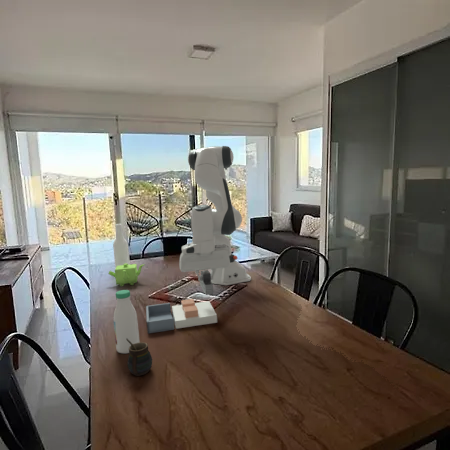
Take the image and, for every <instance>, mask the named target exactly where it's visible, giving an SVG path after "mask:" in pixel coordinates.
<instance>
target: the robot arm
mask: <svg viewBox="0 0 450 450" xmlns="http://www.w3.org/2000/svg"><path fill="white" fill-rule="evenodd" d="M187 156H188V157H187V161H188V165H189V168H190V169H191V170H193V171H194V181H195V183H196V184H197V186H199V187H200V188H201V189H203V190H205V197H206V199H207V200H208V201H209V202H211V203H212V204H213V205H214V207H215V208H212V206H210V205H208V204H199V205H196V206H194V207H192V210H191V218H190V230H191V231H192V241H191V242H189V243H186V244H185V245H182V246H181V253H180V255H179V266H178V267H179V270H180V271H181V273H187V272H194V273H195V274H196V276H197V278H198V282H200V281H203V280H202V276H199V275H200V274H199V273H200V271H204V270H208V271H209V270H210V274H211V282H212V283H213V285H214V284H215V285H222V286H231V285H236V284H241V283H245V282H250V281H251V280H252V276H250V274H248V273H247V269H246V268H245V266H244V265H242V264H241V263H240V262H238V261H236V260H238V256H237V255H235V254H232V244H231V243H232V242H231V239H230V238H229V237H228V236H230V235H231V234H233V233H234V232H235V231H236V230H237V229H238V228H239V227H241V225H242V221H243V217H242V214H241V212H240V211H239V210H238V209H237V208H236V207H235V206H234V205H233V204H232V199H231V194H230V189H229V185H228V182H227V177H226V172H225V171H227V170H228V168H230V167H231V166H232V165H233V162H234V152H233V151H232V149H231V147H230V146H227V145H222V146H218V145H217V146H216V145H214V146H207V147H201V148H195V149H191V150H190V151H189V153H188V155H187Z"/></svg>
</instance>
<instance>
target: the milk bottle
mask: <svg viewBox="0 0 450 450" xmlns="http://www.w3.org/2000/svg"><path fill="white" fill-rule="evenodd" d="M115 298H116V306H115V309H114V312H113V329H114V330H113V332H114V340H115V347H116V352H117V353H119V354H130V353H129V347H130V346H131V344H130V343H129V342H128V341H127V340H126V339H128V340H129V341H130V342H131V343H132V344H135V343H139V342H141V341H140V332H139V321H138V314H137V311H136V309H135V307H134V305H133V303H132V301H131V291H130V290H128V289H121V290H118V291H116V292H115Z"/></svg>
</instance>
